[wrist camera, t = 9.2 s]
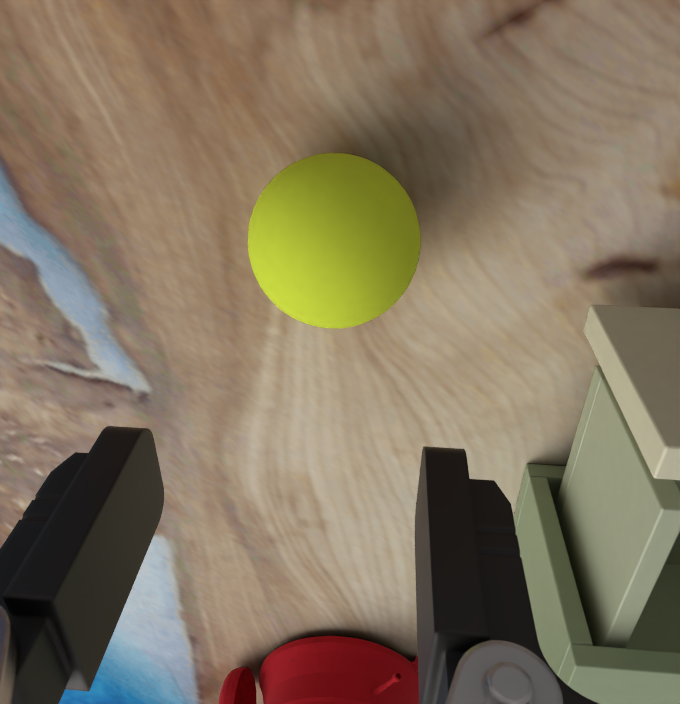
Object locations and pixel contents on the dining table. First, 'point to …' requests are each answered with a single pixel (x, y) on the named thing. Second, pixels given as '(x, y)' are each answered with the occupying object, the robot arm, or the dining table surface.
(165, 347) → the dining table surface
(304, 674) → the alarm clock
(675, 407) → the drawer
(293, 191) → the tennis ball
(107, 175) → the dining table surface
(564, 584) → the cabinet
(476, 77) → the dining table surface
